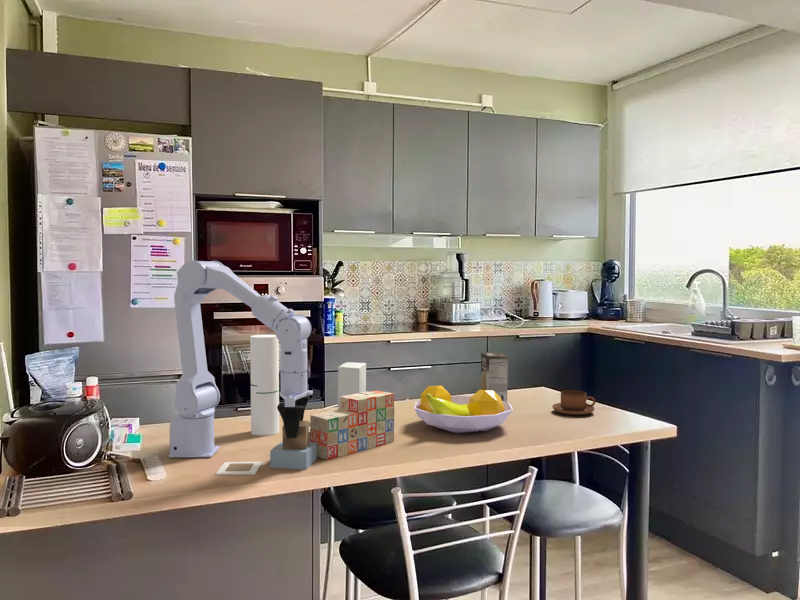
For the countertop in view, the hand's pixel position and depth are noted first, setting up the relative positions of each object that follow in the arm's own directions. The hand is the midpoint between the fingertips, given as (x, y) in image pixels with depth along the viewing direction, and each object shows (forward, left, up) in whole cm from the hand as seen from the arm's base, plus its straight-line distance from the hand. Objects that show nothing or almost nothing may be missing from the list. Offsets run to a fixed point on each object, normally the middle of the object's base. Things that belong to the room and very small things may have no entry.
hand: (294, 433), depth 142 cm
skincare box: (+11, +41, -7) cm, 43 cm away
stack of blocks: (+13, +11, -7) cm, 18 cm away
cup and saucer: (+76, +48, -7) cm, 90 cm away
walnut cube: (0, 0, -3) cm, 3 cm away
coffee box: (+54, +58, -7) cm, 80 cm away
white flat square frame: (-11, -4, -6) cm, 13 cm away
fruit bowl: (+40, +31, -7) cm, 51 cm away
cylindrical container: (-11, +27, -7) cm, 30 cm away
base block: (0, 0, -7) cm, 7 cm away
